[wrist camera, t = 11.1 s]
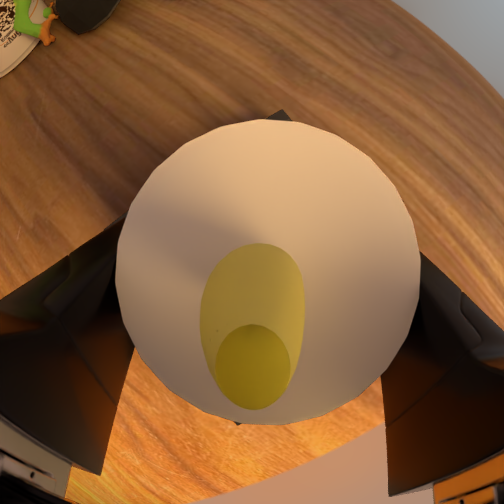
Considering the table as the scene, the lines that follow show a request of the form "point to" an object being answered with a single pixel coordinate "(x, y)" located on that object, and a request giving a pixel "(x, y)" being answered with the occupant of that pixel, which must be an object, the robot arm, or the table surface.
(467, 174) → the table surface
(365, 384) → the candle
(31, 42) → the mug
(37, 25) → the toy
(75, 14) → the gaming mouse
